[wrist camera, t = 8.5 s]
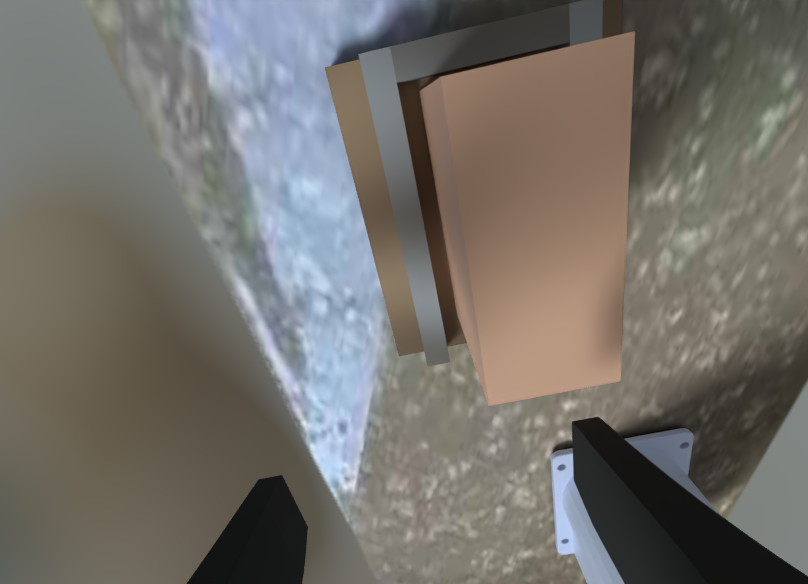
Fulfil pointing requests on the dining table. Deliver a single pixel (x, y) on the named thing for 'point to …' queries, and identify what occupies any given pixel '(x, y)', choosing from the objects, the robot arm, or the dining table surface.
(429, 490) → the dining table surface
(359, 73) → the walnut cradle
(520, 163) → the block
